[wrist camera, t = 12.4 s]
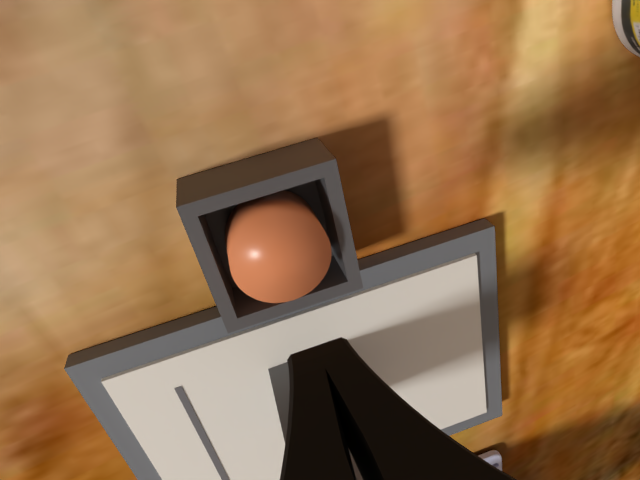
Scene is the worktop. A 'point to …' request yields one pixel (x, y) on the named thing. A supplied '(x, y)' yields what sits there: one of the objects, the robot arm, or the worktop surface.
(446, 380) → the sketch board
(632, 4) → the supplement bottle
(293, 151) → the button housing
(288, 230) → the button
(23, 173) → the worktop surface
